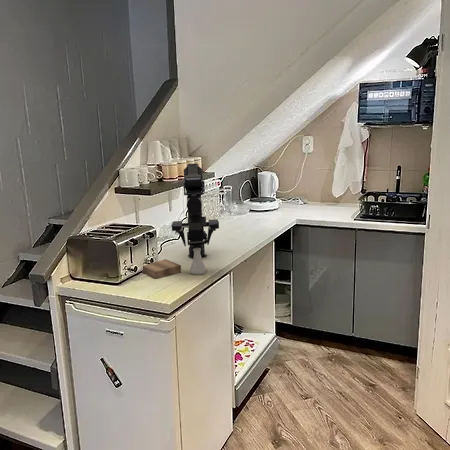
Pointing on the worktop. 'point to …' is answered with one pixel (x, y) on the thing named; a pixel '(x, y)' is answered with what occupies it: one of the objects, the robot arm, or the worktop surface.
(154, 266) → the walnut plinth
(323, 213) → the worktop surface
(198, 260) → the flask
